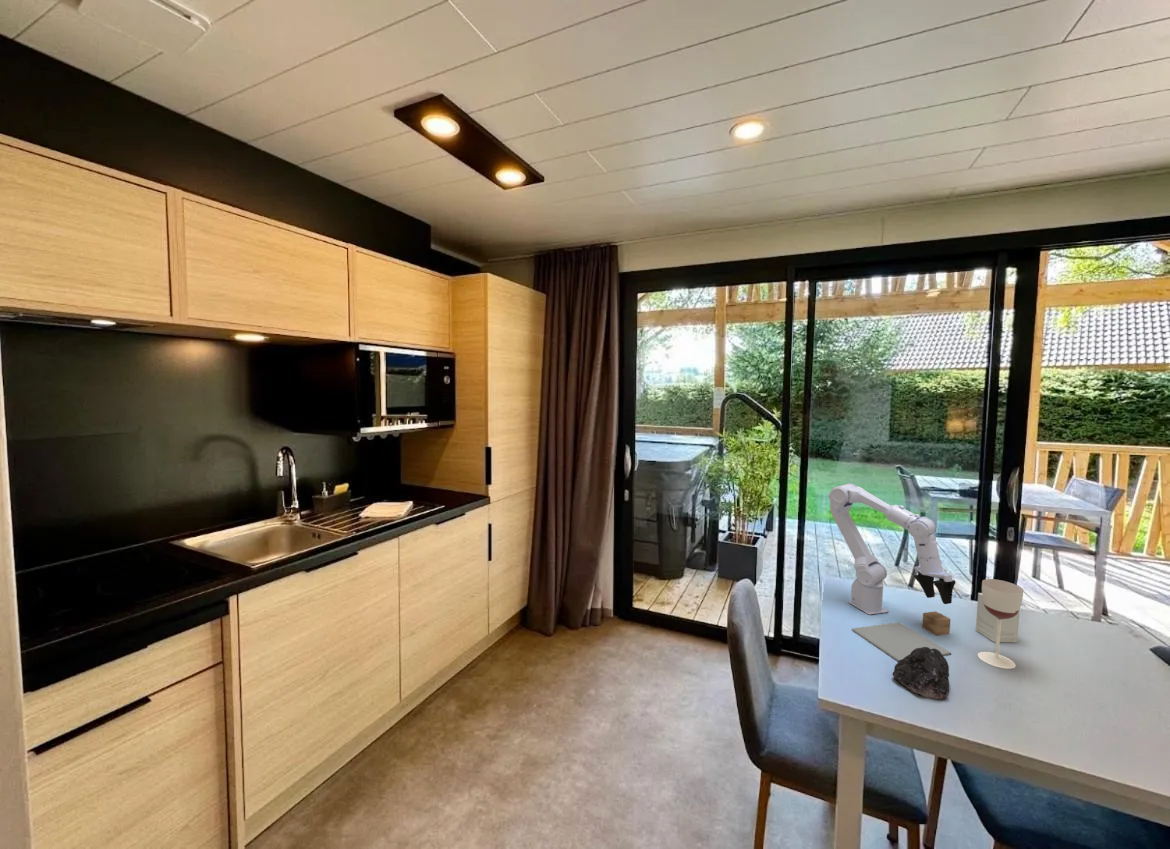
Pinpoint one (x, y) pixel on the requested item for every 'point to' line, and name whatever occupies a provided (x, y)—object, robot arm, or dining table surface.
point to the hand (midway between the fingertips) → (938, 600)
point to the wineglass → (1000, 614)
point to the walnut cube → (936, 623)
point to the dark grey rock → (924, 672)
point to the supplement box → (995, 624)
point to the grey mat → (896, 639)
